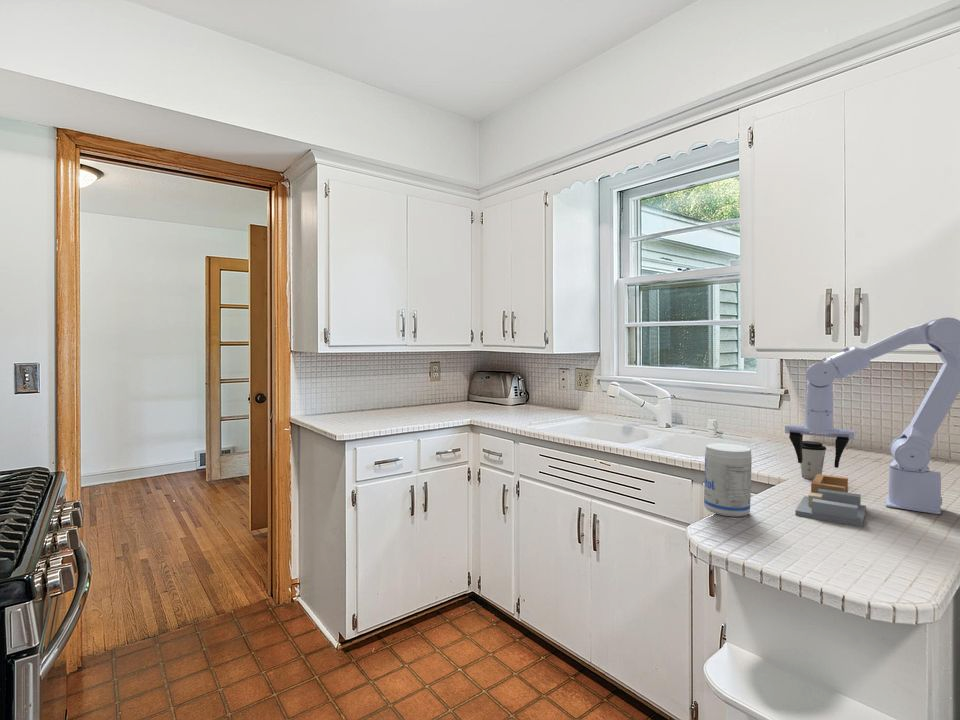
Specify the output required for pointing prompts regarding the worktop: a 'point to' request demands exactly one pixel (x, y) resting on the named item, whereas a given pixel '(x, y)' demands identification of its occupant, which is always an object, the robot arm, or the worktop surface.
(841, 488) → the tan c-shaped bracket
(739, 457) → the supplement tub
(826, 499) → the display stand
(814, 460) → the coffee cup
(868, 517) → the worktop surface
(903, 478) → the robot arm
